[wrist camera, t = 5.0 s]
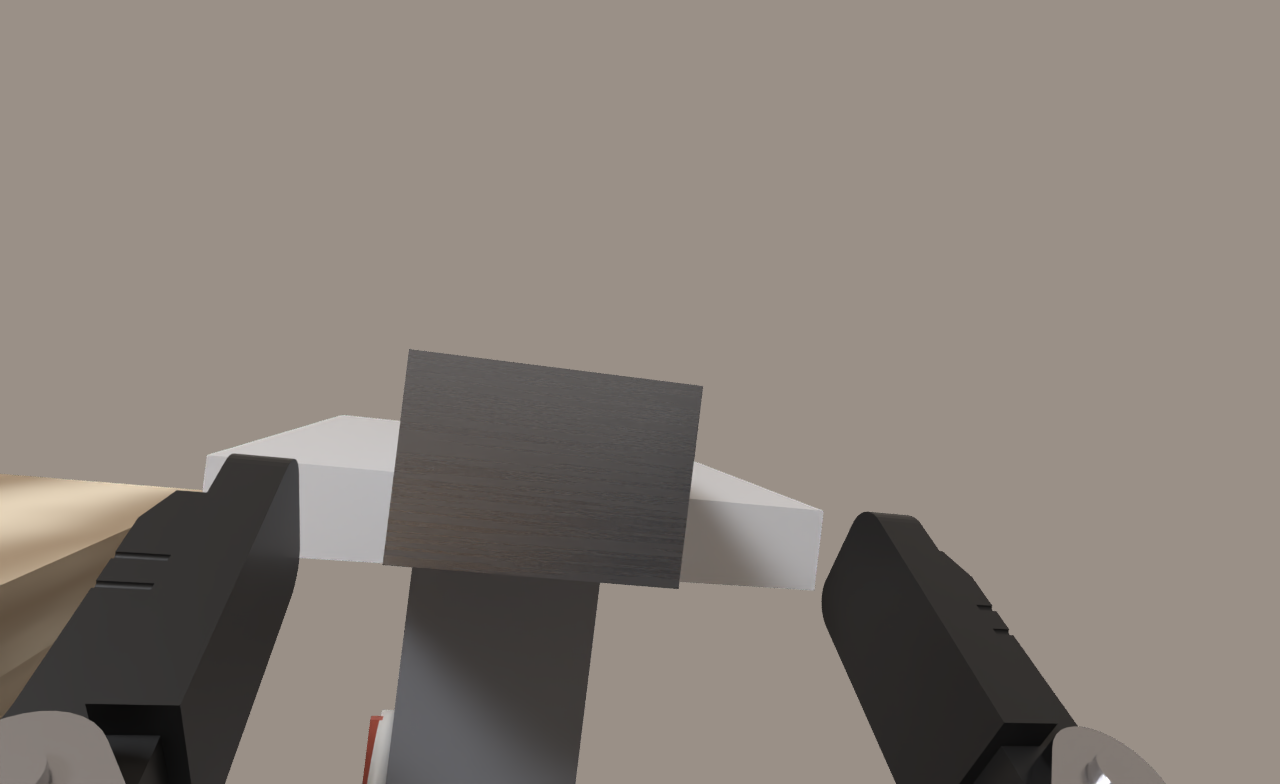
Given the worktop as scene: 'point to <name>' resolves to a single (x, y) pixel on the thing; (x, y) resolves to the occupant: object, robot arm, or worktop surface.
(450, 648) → the dial scale
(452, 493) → the steel bar
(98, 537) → the pine plinth
